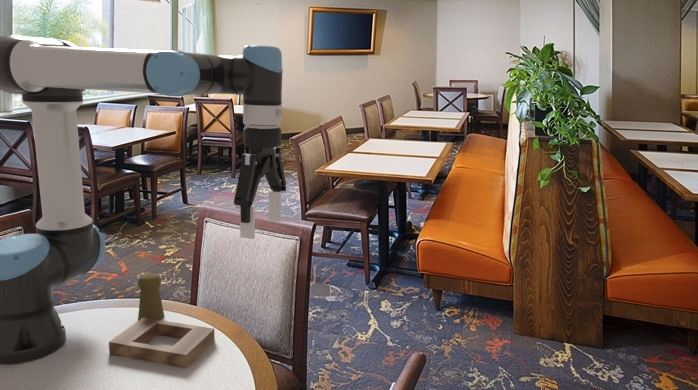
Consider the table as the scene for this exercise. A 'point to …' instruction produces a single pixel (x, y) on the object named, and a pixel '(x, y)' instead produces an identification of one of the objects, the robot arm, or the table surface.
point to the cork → (150, 297)
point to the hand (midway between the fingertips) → (261, 228)
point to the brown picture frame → (178, 355)
